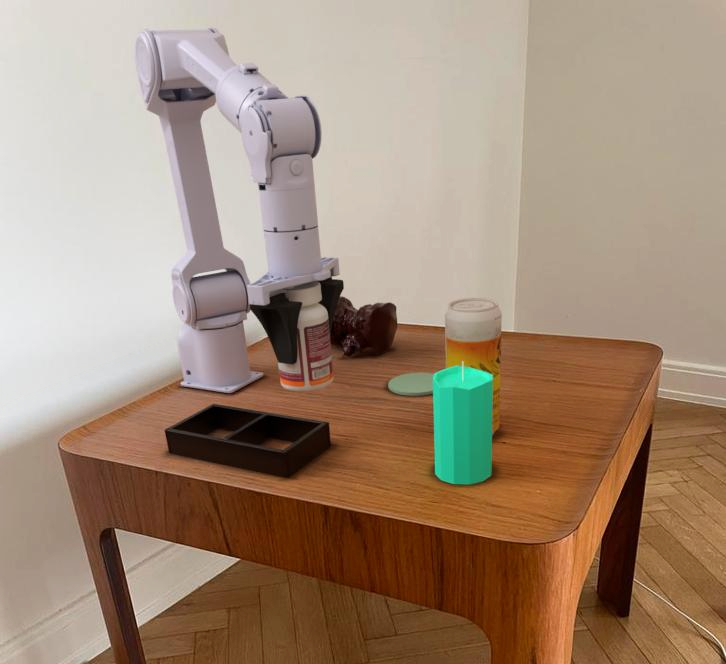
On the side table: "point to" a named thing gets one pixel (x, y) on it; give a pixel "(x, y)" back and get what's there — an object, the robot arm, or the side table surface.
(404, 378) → the mat
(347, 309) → the figurine
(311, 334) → the pill bottle
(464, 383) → the candle
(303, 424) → the tray
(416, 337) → the side table surface
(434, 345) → the side table surface
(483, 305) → the beer can
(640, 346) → the side table surface
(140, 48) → the robot arm
